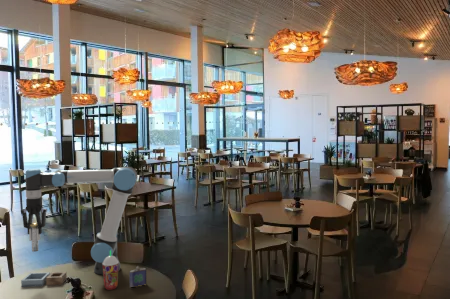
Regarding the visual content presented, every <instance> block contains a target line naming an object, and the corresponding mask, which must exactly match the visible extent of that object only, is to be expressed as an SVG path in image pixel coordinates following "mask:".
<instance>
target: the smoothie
mask: <svg viewBox="0 0 450 299" xmlns="http://www.w3.org/2000/svg"><path fill="white" fill-rule="evenodd" d="M118 260H119V259H118ZM118 260H117V258H116V257H115V256H111V251H110V256H107V257H106V258H105V259H104V261H103V263H102V264H103V274H102V275H103V284H104V285H103V286H104V288H105V290H107V291H111V290H115V289H116V288H117V287H118V284H119V271H118V266H119V262H120V260H119V261H118Z"/></svg>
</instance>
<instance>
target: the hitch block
mask: <svg viewBox="0 0 450 299" xmlns="http://www.w3.org/2000/svg"><path fill="white" fill-rule="evenodd" d="M66 278H67V271H57V272H55V271H52V272H50V275H49V276H48V277H47V278H46V283H45V285H47V286H52V285H54V286H56V285H58V286H60V285H63V284H64V282H65V281H66V280H67V279H66ZM65 279H66V280H65Z"/></svg>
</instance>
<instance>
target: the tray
mask: <svg viewBox="0 0 450 299" xmlns="http://www.w3.org/2000/svg"><path fill="white" fill-rule="evenodd" d="M50 274H51V272H30V273H28V274H27V275H26V276H25V277H24V278H22V279H21V280H20V281H21V282H20V284H21V287H22V288H29V287H32V288H33V287H43V286H44V285H46V278H47V277H48V276H49V275H50Z"/></svg>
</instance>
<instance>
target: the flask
mask: <svg viewBox="0 0 450 299" xmlns="http://www.w3.org/2000/svg"><path fill="white" fill-rule="evenodd" d="M128 274H129V277H128V278H129V288H130V287H135V286H138V285H144V284H146V285H147V269H146V268H145V267H140V266H139V265H137V266H136V267H135V269H133V270H132V269H131V270H130V271H129V273H128Z"/></svg>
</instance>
